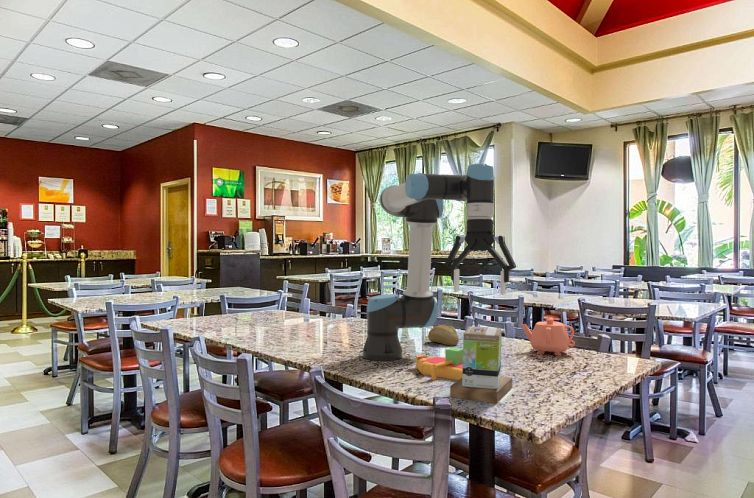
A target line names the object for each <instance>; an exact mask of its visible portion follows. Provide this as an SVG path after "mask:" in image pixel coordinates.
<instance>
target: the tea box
mask: <svg viewBox="0 0 754 498" xmlns="http://www.w3.org/2000/svg"><path fill="white" fill-rule="evenodd" d="M462 339H463V340H462V341H463V343H462V349H463V372H462V386H465V387H474V388H487V389H497V388H498V386H499V381H500V376H501V375H502V369H501V368H502V327H492V326H491V327H489V326H488V327H487V326H471V325H470V326H468V327H467V328H466V330H465V331H464V332H463V337H462Z"/></svg>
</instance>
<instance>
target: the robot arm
mask: <svg viewBox="0 0 754 498" xmlns="http://www.w3.org/2000/svg"><path fill="white" fill-rule="evenodd" d="M494 190H495V172H494V166H493V165H492V164H490V163H473V164H468V166H467V169H466V173H465V174H462V175H461V174H435V173H422V172H417V173H409V174H407V176H406V179H405V182H402V183H401V184H399V185H397V184H394V185H393V184H392V185H389V186H387V187H385V188H384V189H383V190H382V192H381V193H380V194H379V205H380V207H381V208H382V210H383V211H384V212H385V213H387V214H389V215H390V216H393V217H398V218H405V222H406V223H407V225H409V235H408V236H409V239H408V257H407V258H408V261H407V263H408V264H407V281H406V282H407V284H406V289H404V290H403V292H402V297H399V295H398V294H397V293H390V294H388V293H386V294H379V295H375V296H371V297H370V298H368V300H367V307H366V312H367V314H366V315H367V320H366V321H367V322H366V324H367V325H366V326H367V327H366V329H367V330H366V331H367V333H366V334H367V335H366V339H365V343H364V346H363V348H362V358H364V359H366V360H371V361H382V362H383V361H385V362H386V361H395V360H400V359H402V358H403V347H402V345H401V342H400V340H399V329H416V328H419V329H423V328H428V327H433V325H434V323H435V322H436V321H437V318H438V313H439V306H438V304H439V302H438V300H437V298H436V297H434V293H433V291H432V290H431V287H430V284H431V283H430V282H431V269H432V268H431V267H432V266H431V265H432V250H433V249H432V247H433V245H432V244H433V228H434V227H435V226H436V225H437V223H438V219H440V218H442V217H443V213H444V206H445V205H444V200H445V201H447V200H448V201H457V202H466V218H467V219H466V234H465V236H462V235H457V234H456V236H455V238H454V239H455V240H454V244H453V246H452V248H451V250H450V252H449V254H448V256H447V258H446V261H445V262H444V267H445V268H448V269H449V270H450V280H451V281H453V293H458V292H460V269H459V268H458V267H459V266H460V264H461V263H462V262H463V261H464V260H465V259H466V258H467V257H468V255H469V254H470V253H471V252H472V251H473V252H479V251H480V252H488V253H489V254H490V255H491V257H492V258H493V259H494V260H495V261H496V262H497V264H498V265H499V266H500V268H501V269H502V270H500V291H499V292H500V295H503V296H505V295H506V289H507V288H506V286H507V285H506V284H507V283H509V281H510V271H512V270H514V269H516V268H517V265H516V263H515V261H514V258H513V257H512V254H511V252H510V250H509V247H508V246H507V243H506V237H505V235H499V236H498V235H497V236H495V235H494V220H493V219H492V218H493V217H494V200H495V199H494V197H495V195H494V194H495V193H494V192H495V191H494ZM464 241H465V243H466V244H467V245H466V246H465V248H464V249H463V251H462V252H461V253H460V254H459V256H458V257H456V256H457V254H458V252H459V250H460V248H461V246H462V244H463V243H464ZM495 242H496V244H498V246H499V248H500V250H501V253H502V254H503V256H504V258H505V260H506V261H505V260H504V258H502V256H501V255H500V254H499V252H498V251H497V250H496V249H495V247H494V246H493V244H494V243H495ZM455 258H456V259H455Z"/></svg>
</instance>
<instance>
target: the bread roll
mask: <svg viewBox="0 0 754 498" xmlns="http://www.w3.org/2000/svg"><path fill="white" fill-rule="evenodd" d="M427 338H428V340H429V341H430V342H434V343H439V344H441V345H446V346H451V347H455V346H456V345H458V344H459V341H460V338H459V335H458V331H457V330H456V329H455V327H454V326H451V325H449V324H447V325H446V324H439V325H437V326H434V327H433V328H431V329H430V330H429V332H428V335H427Z"/></svg>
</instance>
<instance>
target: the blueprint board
mask: <svg viewBox="0 0 754 498" xmlns="http://www.w3.org/2000/svg"><path fill="white" fill-rule="evenodd" d="M517 390H518V389H517V388H513V387H512V388H511V390H510V391H509V392H508V393H507V394H506V395H505V396H504V397H503V398H502V399H501V400H500V401H499V402H498V403H497V404H501V405H504V404H505V403H506V402H507V400H509V399H510V398H511V396H512V395H513V394H514V393H515V392H516V391H517ZM438 395H439V396H446V397H450V386H449V387H448V388H446V389H445V390H444V391H441V392H440V393H439V394H438Z"/></svg>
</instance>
